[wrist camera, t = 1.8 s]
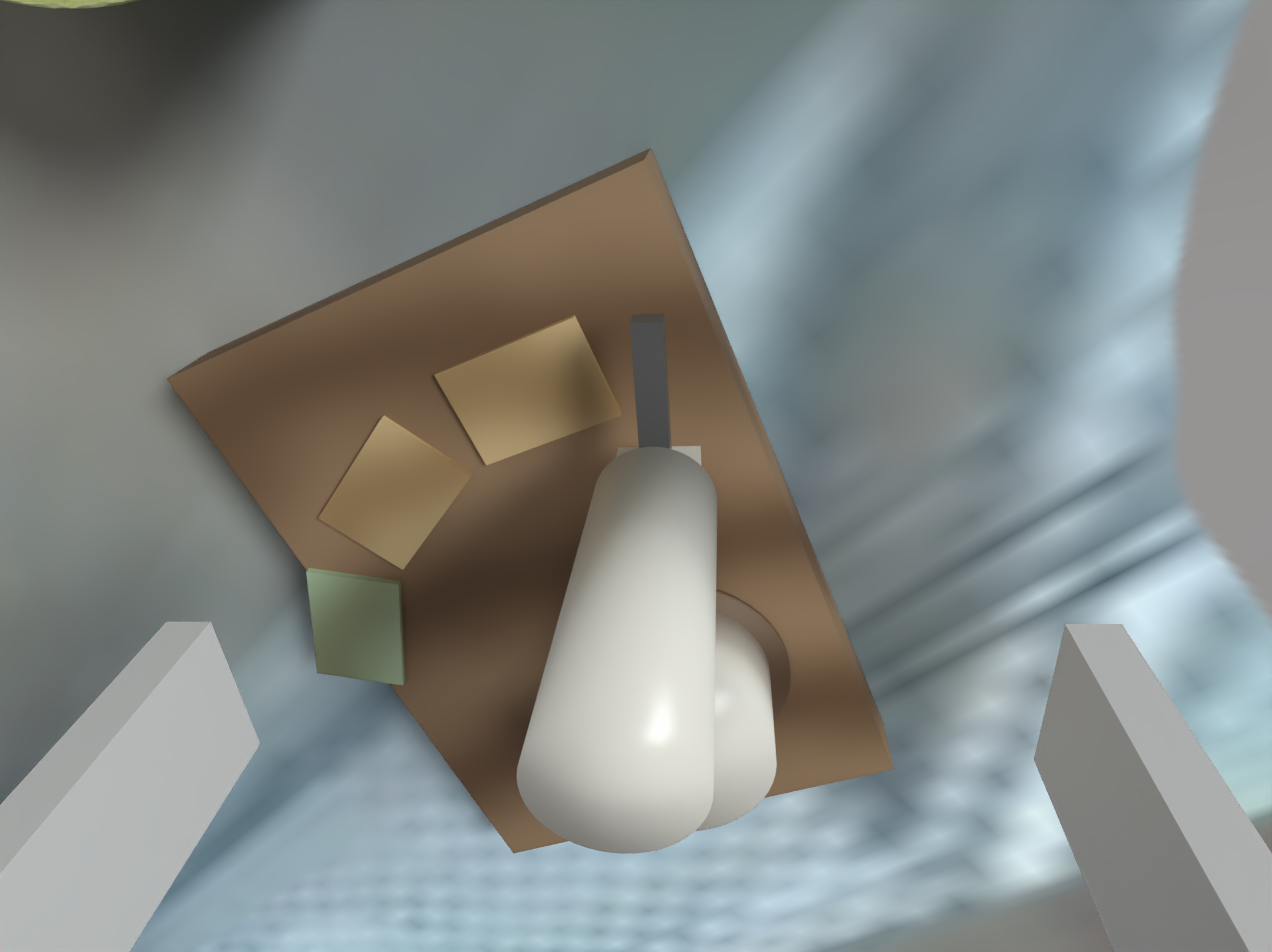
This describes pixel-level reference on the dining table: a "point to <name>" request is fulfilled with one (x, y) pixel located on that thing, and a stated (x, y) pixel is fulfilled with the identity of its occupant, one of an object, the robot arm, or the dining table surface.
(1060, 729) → the robot arm
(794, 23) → the dining table surface
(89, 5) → the plant pot
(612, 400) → the board
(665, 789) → the peg
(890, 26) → the dining table surface
